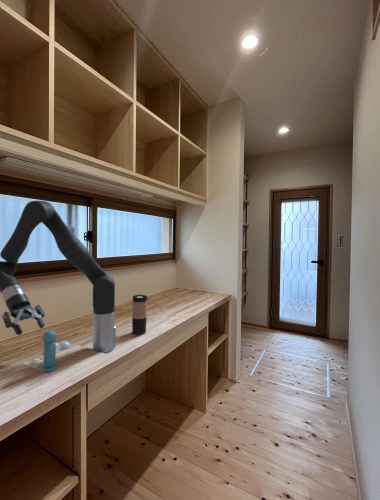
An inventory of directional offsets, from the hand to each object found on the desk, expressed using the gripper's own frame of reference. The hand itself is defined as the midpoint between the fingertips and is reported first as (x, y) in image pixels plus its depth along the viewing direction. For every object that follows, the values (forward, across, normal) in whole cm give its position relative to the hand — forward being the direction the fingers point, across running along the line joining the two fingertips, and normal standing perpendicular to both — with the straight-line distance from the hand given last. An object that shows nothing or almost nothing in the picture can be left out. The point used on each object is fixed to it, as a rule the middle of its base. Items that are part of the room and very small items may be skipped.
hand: (32, 330), depth 101 cm
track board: (+15, -1, +4) cm, 15 cm away
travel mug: (+20, +49, 0) cm, 53 cm away
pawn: (+17, -1, -1) cm, 17 cm away
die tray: (+10, +12, +11) cm, 19 cm away
